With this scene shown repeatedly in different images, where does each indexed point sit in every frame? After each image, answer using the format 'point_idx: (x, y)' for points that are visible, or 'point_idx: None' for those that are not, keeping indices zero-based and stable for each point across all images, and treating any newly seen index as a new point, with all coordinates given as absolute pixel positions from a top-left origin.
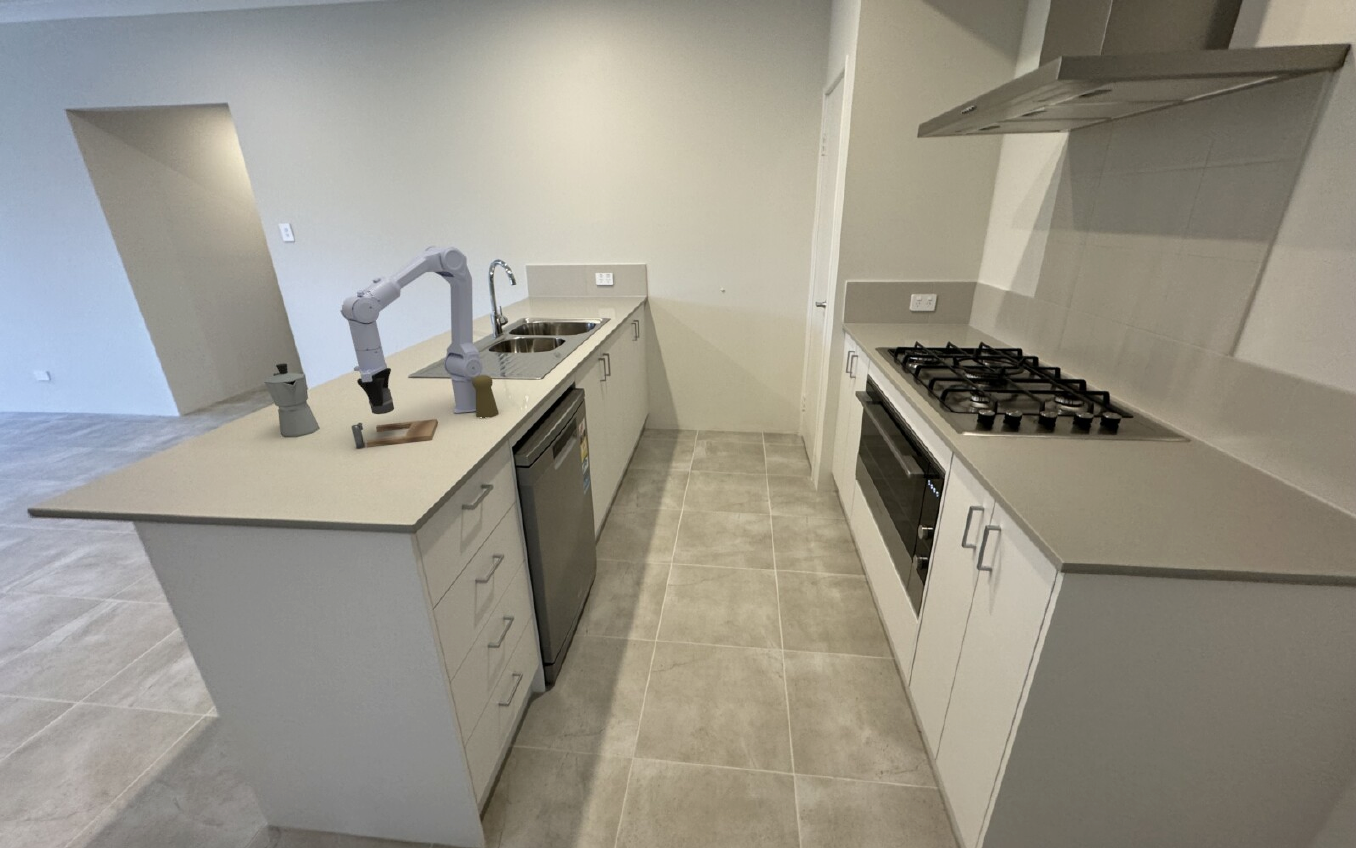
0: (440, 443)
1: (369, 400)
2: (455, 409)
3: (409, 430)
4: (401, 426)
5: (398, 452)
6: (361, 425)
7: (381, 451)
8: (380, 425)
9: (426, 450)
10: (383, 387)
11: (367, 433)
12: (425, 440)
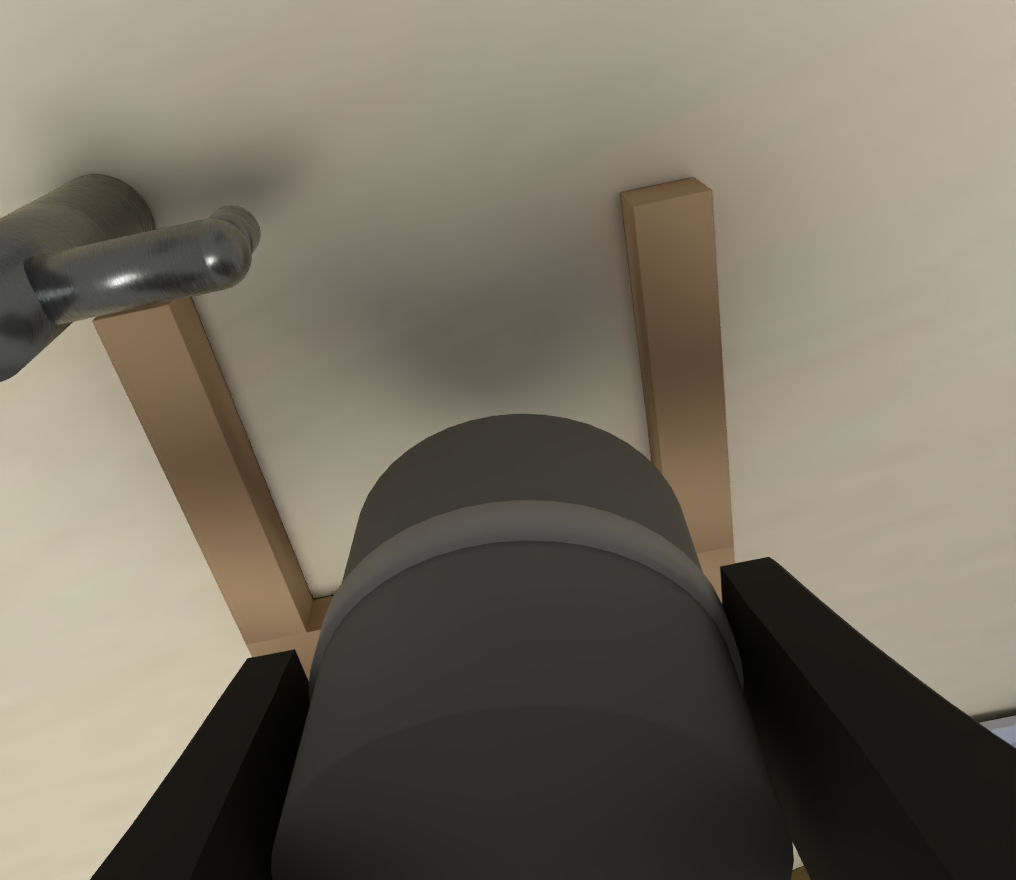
0: None
1: (371, 621)
2: (1009, 734)
3: None
4: (656, 458)
5: (31, 636)
6: (178, 297)
7: (27, 491)
8: (685, 242)
9: (107, 797)
10: (831, 871)
11: (576, 87)
12: None
